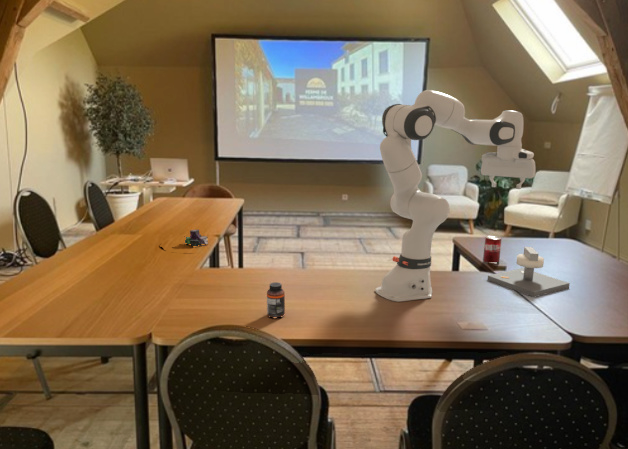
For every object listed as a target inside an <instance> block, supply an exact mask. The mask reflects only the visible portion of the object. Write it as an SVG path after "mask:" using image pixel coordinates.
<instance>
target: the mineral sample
mask: <svg viewBox="0 0 628 449" xmlns="http://www.w3.org/2000/svg"><path fill="white" fill-rule="evenodd" d="M189 234H190V235H189V236H190V237H186V240H185V243H187V244H191V245H192V246H198V245H200V244H208V245H209V242H208V241H209V240H208V235H207V236H206V235H205V236H202V234H200V229H191V230H189ZM185 243H184V244H185ZM192 246H191V247H192ZM200 246H201V245H200Z"/></svg>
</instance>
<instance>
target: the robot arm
mask: <svg viewBox="0 0 628 449" xmlns="http://www.w3.org/2000/svg"><path fill="white" fill-rule="evenodd" d="M465 116H466V109H465V105H464V104H463V102H461V101H460V100H459V99H457V98H456V97H453V96H452V95H449V94H446V93H444V92H441V91H437V90H433V89H426V90H422V91H421V92H420V93H419V94H418V95H417V96H416V98H415V100H414V103H413V104H412V105H409V104H400V103H396V104H391V105H389V106H388V107H386V108H385V109H384V111H383V113H382V117H381V124H382V127H383V128H382V133H383V135H384V136H385V137H384V138H383V139H382V140H381V142H380V144H379V150H380V155H381V159H382V163H383V166H384V168H385V170H386V172H387V174H388V177H389V179H390V182H391V184H392V187H393V194H392V195H391V198H390V200H389V201H390V202H389V205H390V209H391V211H392V212H393V213H395V214H396V215H398V216H399V217H401V218H405V219H409V220H412V224H411V228H410V229H408V230H406V231H405V232H404V233H403V234H402V236H401V249H400V250H401V251H400V252H401V253H400V254H399V256H395V255H394V256H393V257H392V262H394V263H396V265H395V266H394V267H392V268H391V269H390V271H388V272H387V273H386V274H385V275H384V276H383V278H382V281H381V285H380V286H378V287H375V290H374V291H375V293H376V294H378V295H379V296H381V297H382V298H384V299H386V300H389V301H391V302H407V301H415V300H425V299H430V298H431V299H432V295H433V288H432V282H431V281H432V280H431V266H432V256H431V254H432V252H431V250H432V245H433V244H432V242H433V236H434V234H435V231H436V230H437V229H438V227H439V226H440V225H441V224H442V223H444V222H446V220H447V219H448V217H449V215H450V204H449V201H447V199H445V198H444V197H443V196H440V195H437V194H434V193H429V192H425V191H421V189H420V188H419V185H420V183H421V181H422V178H423V173H422V171H421V169H420V167H419V162H418V161H417V159H416V155H415V154H414V152H413V150H412V140H413V141H422V140H425V139H427V138H428V137H429V136H430V135H431V133H432V132H433V130H434V128H435V126H436V127H440V128H444V129H447V130H451V131H453V132H455V133H457V134H458V135H460V136H462V138H464V140H465V141H466V142H467V143H468V144H470V145H478V146H480V145H483V146H495V147H496V146H497V150H496V152H490V151H486V152H485V153H483V154H482V155H481V166H480V174H481V175H482V176H489V177H488V178H489V180H490V181H489V182H491V188H496V187H497V185H498V183H497V182H495V180H494V179H495V177H504V178H505V177H506V178H508V177H509V178H516V179H517V178H519V180H520V182H519V183H517V184H516V187H515V189H516V190H521V189H522V184H523V183H524V182H525V181H526V179H533V178H534V177H535V176H536V161H535V160H534V159H533V158H534V156H535V154H534V152H532V151H531V150H526V149H524V148H522V146H523V144H522V137H523V134H524V114H522V112H520V111H516V110H508V109H507V110H503V111H501V114H499V116H496V117H495V118H493V119H478V118H472V119H469V118H467V117H465Z"/></svg>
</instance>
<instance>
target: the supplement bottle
mask: <svg viewBox="0 0 628 449" xmlns="http://www.w3.org/2000/svg"><path fill="white" fill-rule="evenodd" d="M285 296H286V295H285V290H284V289H283V287H282V283H281V282H276V281H275V282H270V283H269V288H268V289H267V291H266V314H267V317H268V316H270V317H281V316H283V315H284V314H285V315H286V312H285V311H286V309H285V308H286V304H285V302H286V301H285V298H286V297H285ZM285 315H284V316H285ZM284 316H283V317H284ZM270 317H269V318H270Z"/></svg>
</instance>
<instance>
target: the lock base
mask: <svg viewBox="0 0 628 449" xmlns="http://www.w3.org/2000/svg"><path fill="white" fill-rule="evenodd" d="M487 281H489V282H492V283H495V284H497V285H500V286H503V287H505V288H508V289H511V290H513V291H516V292H519V293H522V294H525V295H527V294H528V295H527V296H529V295H530V297H532V296H533V297H532V298H535V296H536V297H539V296H538V295H540V296H543V294H544V295H547V294H550V293H555V292H559V291H562V290H565V289H566V290H567V289H570V282H568V281H565V280H562V279H558V278H555V277H552V276H549V275H546V274H542V273H539V272H537V271H536V272H535V268H527V267H522V268H521V267H520V268H516V269H512V270H508V271H504V272H498V273H494V274H490V275H487Z"/></svg>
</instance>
